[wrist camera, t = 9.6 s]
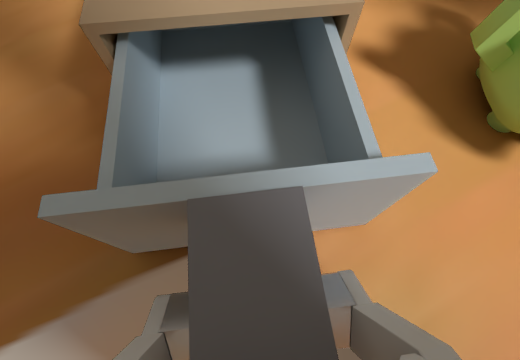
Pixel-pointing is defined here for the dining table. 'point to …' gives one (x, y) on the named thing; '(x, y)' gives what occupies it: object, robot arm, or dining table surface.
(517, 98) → the teapot
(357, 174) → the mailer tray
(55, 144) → the dining table surface
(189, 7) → the sleeve
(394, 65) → the dining table surface
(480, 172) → the dining table surface
